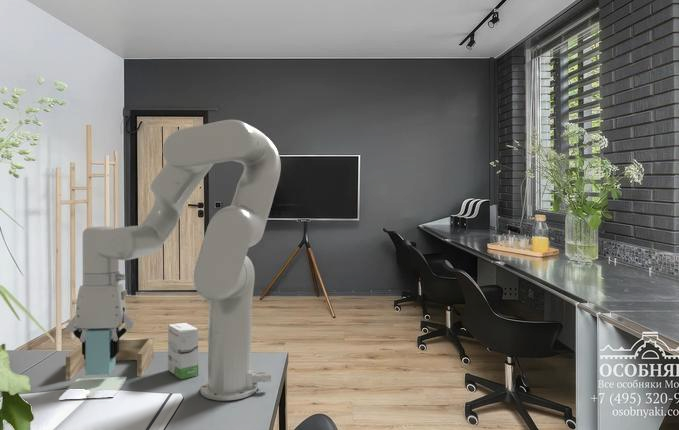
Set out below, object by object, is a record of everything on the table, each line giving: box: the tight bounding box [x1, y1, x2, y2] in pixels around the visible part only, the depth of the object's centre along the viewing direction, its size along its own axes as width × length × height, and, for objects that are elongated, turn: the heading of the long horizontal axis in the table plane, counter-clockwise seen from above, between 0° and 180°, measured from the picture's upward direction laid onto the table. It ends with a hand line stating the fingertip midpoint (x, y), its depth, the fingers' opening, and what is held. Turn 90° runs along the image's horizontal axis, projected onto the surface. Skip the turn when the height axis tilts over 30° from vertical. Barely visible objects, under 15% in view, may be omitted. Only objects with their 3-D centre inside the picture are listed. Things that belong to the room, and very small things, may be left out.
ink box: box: [167, 322, 199, 380], centre depth 118 cm, size 9×5×12 cm, turn 39°
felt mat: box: [66, 376, 128, 398], centre depth 107 cm, size 11×11×1 cm
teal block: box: [85, 329, 116, 376], centre depth 111 cm, size 5×5×10 cm
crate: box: [65, 337, 154, 381], centre depth 121 cm, size 17×14×6 cm
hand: (100, 356), depth 111 cm, fingers closed on teal block, 5 cm apart
